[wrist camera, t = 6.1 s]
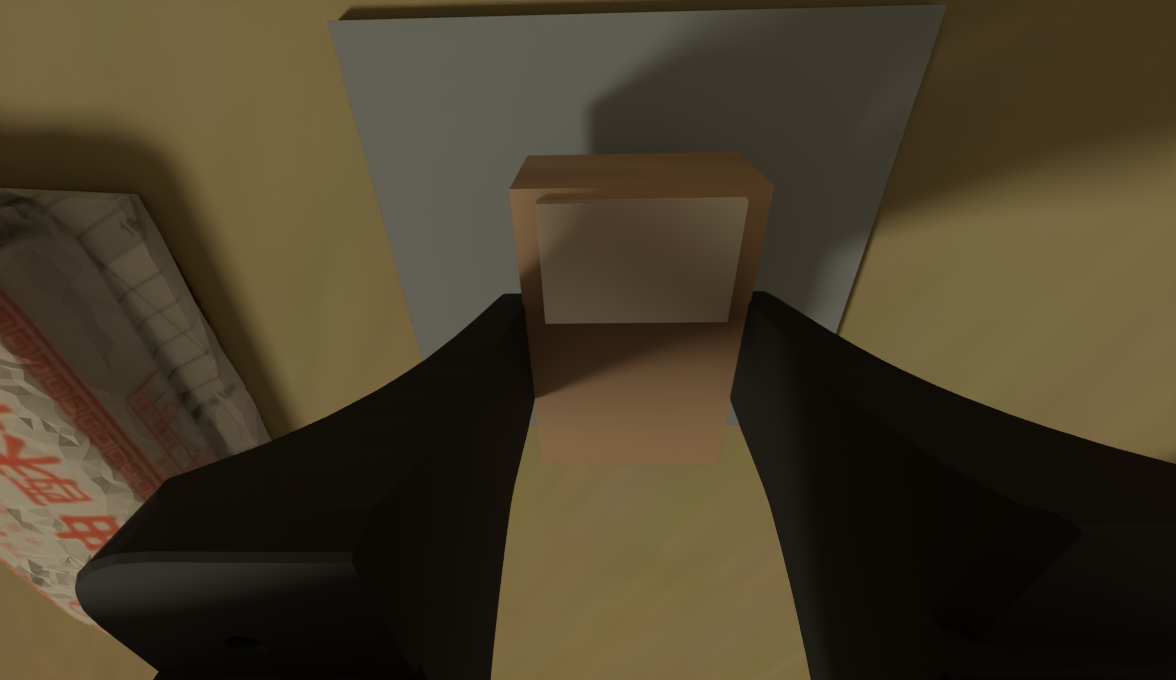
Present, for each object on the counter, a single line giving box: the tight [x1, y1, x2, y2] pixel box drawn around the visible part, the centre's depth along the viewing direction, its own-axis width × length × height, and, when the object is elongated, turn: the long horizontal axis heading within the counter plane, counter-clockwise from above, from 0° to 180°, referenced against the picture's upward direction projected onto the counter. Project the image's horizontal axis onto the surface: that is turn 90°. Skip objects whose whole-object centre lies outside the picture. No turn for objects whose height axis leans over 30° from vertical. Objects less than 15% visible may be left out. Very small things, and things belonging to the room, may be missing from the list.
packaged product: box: [0, 188, 272, 636], centre depth 16 cm, size 18×5×10 cm
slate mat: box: [327, 4, 948, 425], centre depth 13 cm, size 13×12×1 cm
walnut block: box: [509, 152, 775, 464], centre depth 11 cm, size 7×4×3 cm, turn 1°
